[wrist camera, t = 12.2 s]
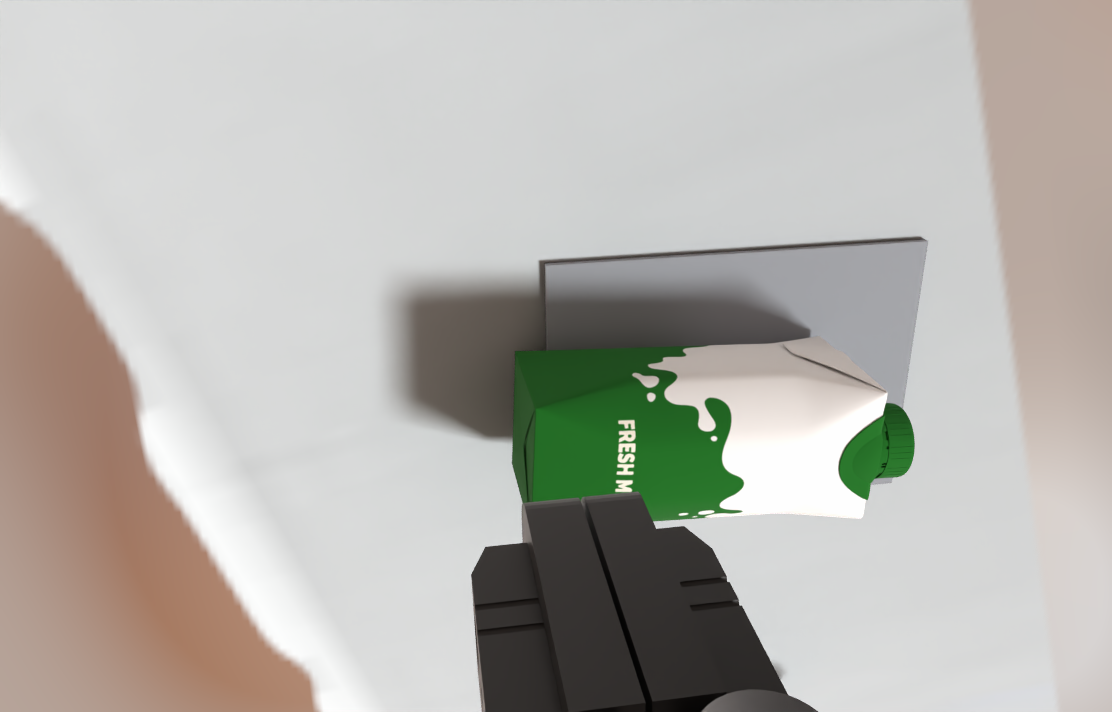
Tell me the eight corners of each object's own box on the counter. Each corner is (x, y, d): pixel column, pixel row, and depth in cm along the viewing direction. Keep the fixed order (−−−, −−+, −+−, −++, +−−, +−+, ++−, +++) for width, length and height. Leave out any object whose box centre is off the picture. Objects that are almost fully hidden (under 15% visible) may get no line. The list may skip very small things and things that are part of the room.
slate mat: (544, 263, 49) (545, 265, 49) (924, 239, 52) (928, 241, 51) (550, 513, 55) (551, 516, 55) (888, 479, 58) (891, 482, 58)
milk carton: (538, 399, 41) (935, 383, 45) (511, 328, 50) (849, 319, 53) (531, 559, 45) (901, 533, 48) (508, 468, 53) (825, 451, 57)
